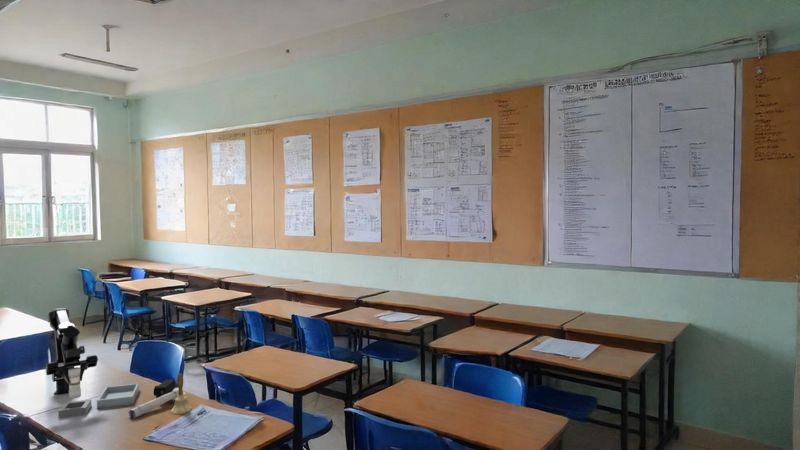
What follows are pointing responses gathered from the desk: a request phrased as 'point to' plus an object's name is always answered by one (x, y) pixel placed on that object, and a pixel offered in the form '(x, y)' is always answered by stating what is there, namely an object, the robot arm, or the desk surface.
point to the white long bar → (154, 403)
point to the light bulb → (74, 382)
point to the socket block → (74, 408)
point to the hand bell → (180, 399)
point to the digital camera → (164, 388)
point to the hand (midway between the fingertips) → (75, 381)
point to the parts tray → (118, 395)
